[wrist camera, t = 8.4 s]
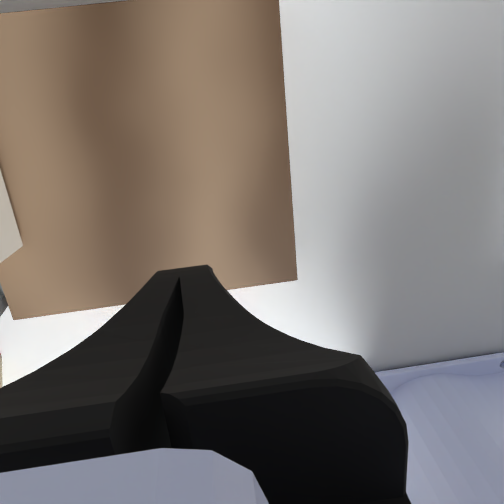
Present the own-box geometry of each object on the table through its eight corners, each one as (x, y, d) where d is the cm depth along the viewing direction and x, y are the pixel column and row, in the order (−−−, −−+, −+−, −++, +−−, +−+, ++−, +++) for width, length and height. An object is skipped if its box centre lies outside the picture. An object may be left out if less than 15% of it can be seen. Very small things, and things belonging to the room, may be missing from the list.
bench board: (269, -9, 18) (277, -15, 16) (288, 260, 22) (297, 280, 20) (-62, 25, 17) (-93, 22, 15) (29, 296, 21) (13, 320, 19)
